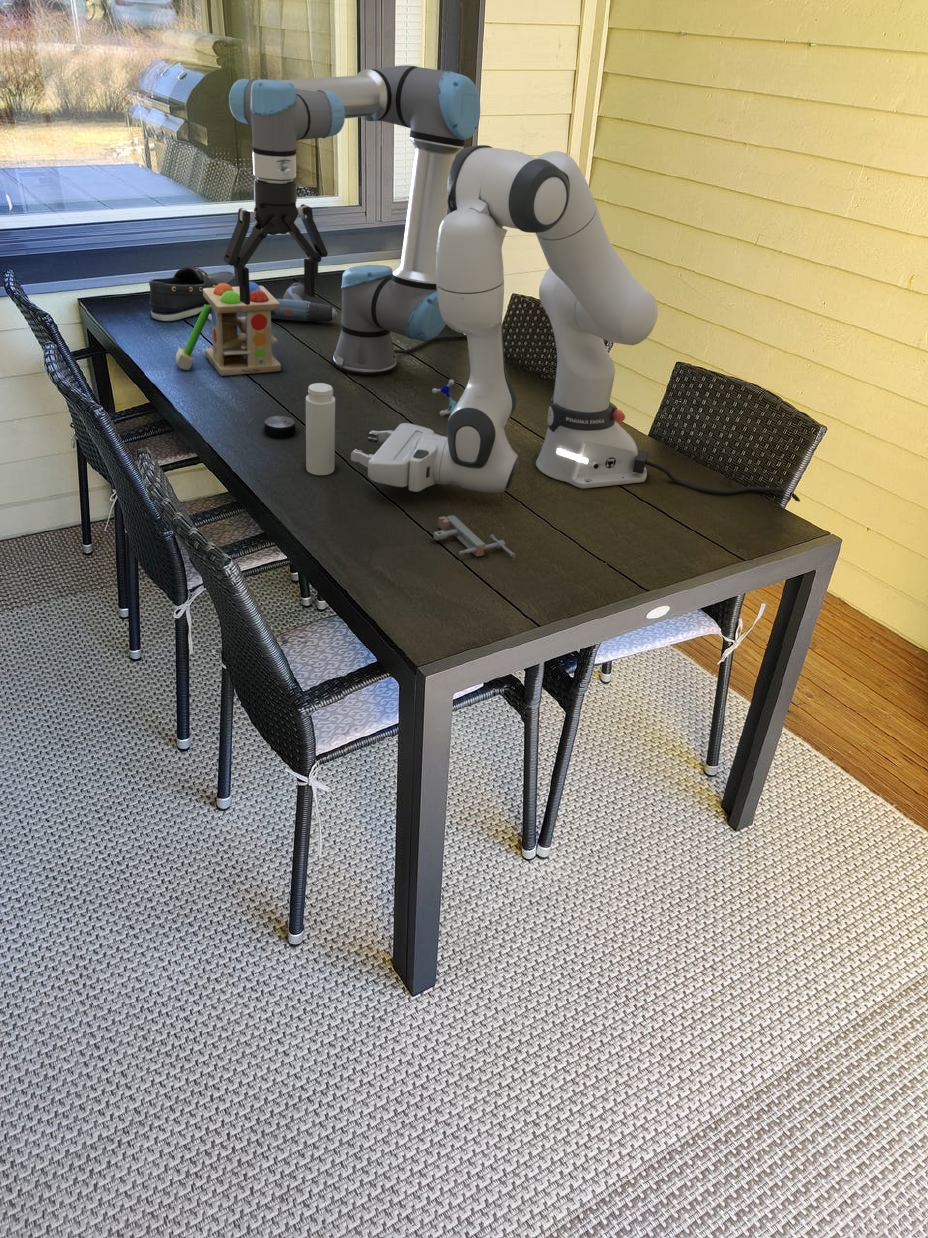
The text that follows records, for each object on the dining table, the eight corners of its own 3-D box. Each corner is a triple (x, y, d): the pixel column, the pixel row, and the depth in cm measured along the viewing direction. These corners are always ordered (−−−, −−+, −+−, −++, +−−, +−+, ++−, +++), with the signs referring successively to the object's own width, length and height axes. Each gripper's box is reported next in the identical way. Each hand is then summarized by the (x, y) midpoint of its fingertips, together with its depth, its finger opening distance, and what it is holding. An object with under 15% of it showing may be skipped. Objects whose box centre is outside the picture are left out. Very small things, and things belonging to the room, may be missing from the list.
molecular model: (479, 418, 207) (464, 372, 206) (439, 432, 211) (424, 387, 209) (495, 415, 218) (481, 371, 216) (457, 429, 221) (443, 386, 220)
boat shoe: (257, 300, 274) (255, 261, 268) (168, 323, 250) (164, 281, 244) (224, 291, 279) (221, 254, 274) (133, 313, 256) (128, 272, 250)
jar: (340, 469, 190) (341, 387, 181) (321, 477, 187) (321, 395, 177) (319, 460, 193) (319, 379, 183) (300, 468, 189) (299, 386, 180)
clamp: (423, 519, 171) (472, 509, 176) (423, 530, 173) (471, 520, 177) (466, 561, 161) (517, 549, 165) (465, 572, 162) (516, 561, 167)
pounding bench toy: (183, 379, 220) (176, 299, 210) (169, 357, 231) (162, 280, 221) (282, 371, 230) (280, 294, 220) (264, 350, 240) (262, 276, 230)
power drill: (344, 304, 276) (335, 327, 259) (277, 298, 275) (264, 321, 258) (344, 285, 273) (335, 306, 256) (277, 279, 272) (264, 300, 255)
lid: (258, 430, 202) (258, 419, 201) (284, 424, 206) (284, 413, 204) (275, 441, 198) (275, 430, 197) (301, 434, 202) (301, 423, 201)
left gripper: (218, 186, 166) (225, 311, 178) (346, 180, 179) (344, 297, 191) (200, 177, 171) (207, 299, 183) (325, 171, 184) (325, 286, 196)
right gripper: (447, 422, 189) (379, 409, 192) (416, 464, 173) (342, 450, 175) (445, 452, 193) (378, 439, 195) (414, 496, 176) (341, 482, 179)
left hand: (277, 298), depth 187 cm, fingers open, 13 cm apart
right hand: (360, 444), depth 185 cm, fingers open, 8 cm apart
